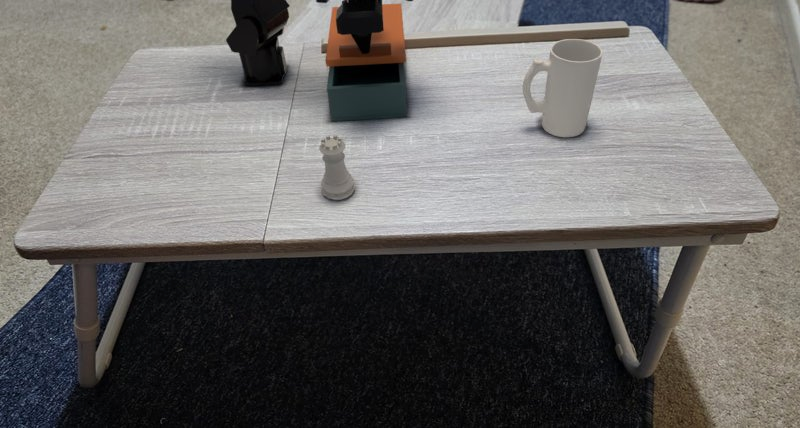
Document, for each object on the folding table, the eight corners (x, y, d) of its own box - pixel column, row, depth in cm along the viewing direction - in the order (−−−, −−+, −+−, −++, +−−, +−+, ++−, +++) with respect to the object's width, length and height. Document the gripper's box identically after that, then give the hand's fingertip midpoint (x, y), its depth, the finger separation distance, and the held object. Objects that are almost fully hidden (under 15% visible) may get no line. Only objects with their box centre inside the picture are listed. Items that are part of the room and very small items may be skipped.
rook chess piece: (352, 177, 78) (346, 127, 73) (358, 198, 75) (352, 147, 69) (319, 183, 77) (310, 133, 72) (324, 204, 74) (315, 154, 69)
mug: (579, 111, 87) (594, 37, 79) (592, 137, 82) (609, 60, 74) (513, 116, 87) (521, 41, 79) (522, 141, 82) (531, 65, 74)
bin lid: (406, 62, 90) (405, 46, 88) (326, 66, 90) (324, 50, 88) (401, 9, 104) (400, -6, 103) (333, 13, 105) (331, -2, 103)
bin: (406, 117, 88) (405, 84, 85) (331, 121, 88) (326, 89, 85) (402, 59, 102) (400, 29, 98) (336, 63, 102) (332, 33, 98)
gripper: (419, -35, 71) (422, 80, 81) (412, -79, 85) (415, 24, 95) (329, -29, 71) (343, 84, 81) (336, -74, 85) (347, 28, 95)
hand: (365, 52), depth 88 cm, fingers closed
